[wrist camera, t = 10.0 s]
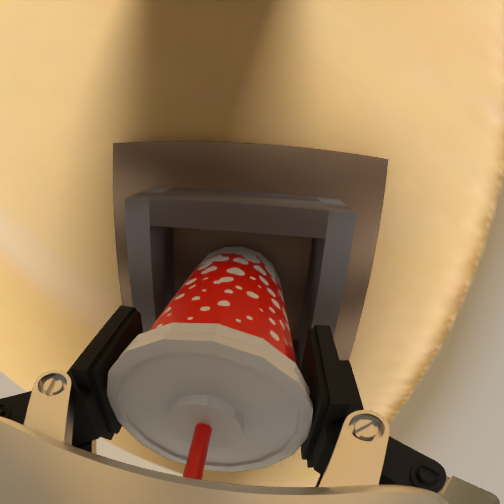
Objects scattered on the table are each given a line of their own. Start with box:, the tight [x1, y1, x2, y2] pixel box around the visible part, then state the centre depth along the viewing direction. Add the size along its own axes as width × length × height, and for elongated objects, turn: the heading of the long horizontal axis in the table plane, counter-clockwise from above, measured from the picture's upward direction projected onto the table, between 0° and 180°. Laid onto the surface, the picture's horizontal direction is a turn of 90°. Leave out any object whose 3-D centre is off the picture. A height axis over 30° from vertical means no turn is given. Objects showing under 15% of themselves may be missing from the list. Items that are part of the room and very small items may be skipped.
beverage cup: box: [107, 246, 313, 480], centre depth 10 cm, size 6×6×14 cm
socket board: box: [113, 141, 388, 371], centre depth 16 cm, size 15×15×4 cm
